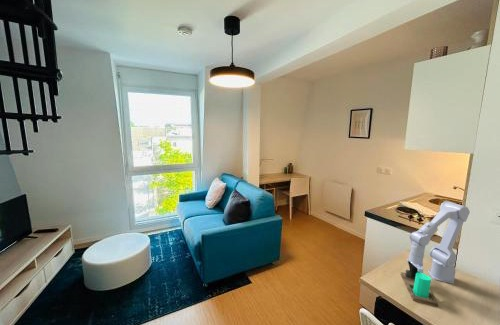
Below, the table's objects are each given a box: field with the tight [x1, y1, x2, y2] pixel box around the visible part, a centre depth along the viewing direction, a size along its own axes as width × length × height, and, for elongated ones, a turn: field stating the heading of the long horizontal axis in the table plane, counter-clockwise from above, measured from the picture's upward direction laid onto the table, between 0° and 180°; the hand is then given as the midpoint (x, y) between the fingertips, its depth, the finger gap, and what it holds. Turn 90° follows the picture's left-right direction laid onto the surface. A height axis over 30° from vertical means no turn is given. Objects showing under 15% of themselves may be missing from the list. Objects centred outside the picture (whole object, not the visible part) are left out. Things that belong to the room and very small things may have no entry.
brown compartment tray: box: [400, 269, 439, 308], centre depth 110 cm, size 20×10×5 cm, turn 159°
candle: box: [412, 272, 432, 299], centre depth 106 cm, size 6×6×12 cm
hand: (413, 275), depth 117 cm, fingers closed on brown compartment tray
